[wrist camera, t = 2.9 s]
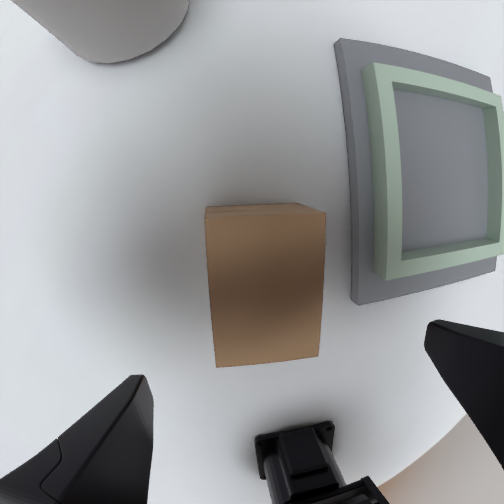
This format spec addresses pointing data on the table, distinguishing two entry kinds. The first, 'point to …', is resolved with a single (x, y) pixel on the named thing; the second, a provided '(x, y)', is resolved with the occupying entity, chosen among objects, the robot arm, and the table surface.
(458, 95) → the grey tray
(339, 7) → the table surface
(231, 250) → the brown rectangular block
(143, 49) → the can
